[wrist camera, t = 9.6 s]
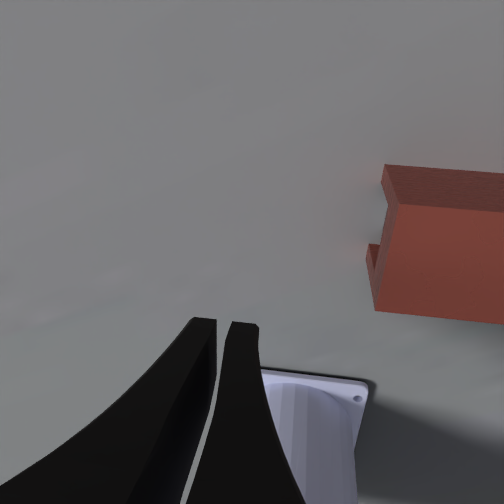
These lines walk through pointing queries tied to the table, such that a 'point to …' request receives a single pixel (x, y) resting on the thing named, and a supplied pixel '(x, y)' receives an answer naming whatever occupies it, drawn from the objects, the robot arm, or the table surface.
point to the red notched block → (440, 245)
